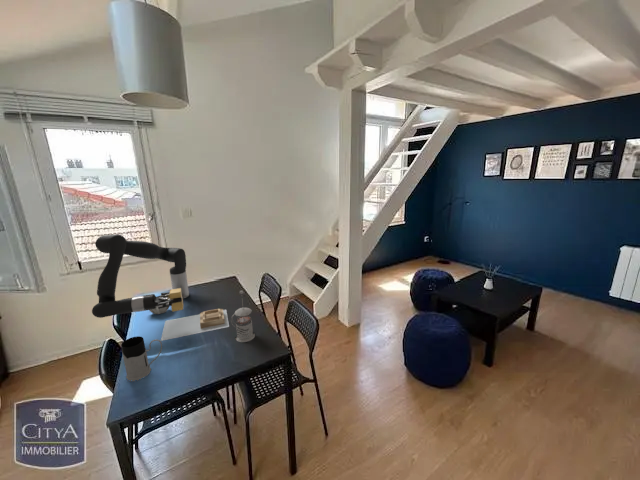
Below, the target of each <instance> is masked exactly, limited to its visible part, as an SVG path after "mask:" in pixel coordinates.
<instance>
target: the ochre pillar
mask: <svg viewBox="0 0 640 480" xmlns="http://www.w3.org/2000/svg"><path fill="white" fill-rule="evenodd" d="M169 292H170V293H169V295H170V299H173V298H179V297H181V298H182V291H181V288H179V289H172V288H171V289H169ZM170 307H171V312H177V311H178V312H179V311H183V310H184V298H182V302H177V303H173V304H172V305H171V306H170Z"/></svg>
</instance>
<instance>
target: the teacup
mask: <svg viewBox="0 0 640 480" xmlns="http://www.w3.org/2000/svg"><path fill="white" fill-rule="evenodd" d="M170 307H171V306H168V307H164V308H160V309H158V306H156V308H155V309H152V310H148V311H149V312H150V313H152V314H154V315H161V314H165V313H166V312H167V311H168V310H169V308H170Z"/></svg>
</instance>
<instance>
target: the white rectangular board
mask: <svg viewBox="0 0 640 480" xmlns="http://www.w3.org/2000/svg"><path fill="white" fill-rule="evenodd" d="M227 312H228V311H227V309H223V314H224V321H225V324H221V325H216V326H211V327H206V328H201V327H200V313H199V314H194V315H189V316H184V317H179V318H174V319H168V320H165V321H164V326H163V329H162V333H161V338H160V341H161V342H162V341H167V340H172V339H178V338H183V337H186V336H191V335H197V334H202V333H205V332H211V331H215V330H220V329H225V328H226V329H227V328H229V327H230V324H229V318H228V317H229V316H228V313H227Z"/></svg>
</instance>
